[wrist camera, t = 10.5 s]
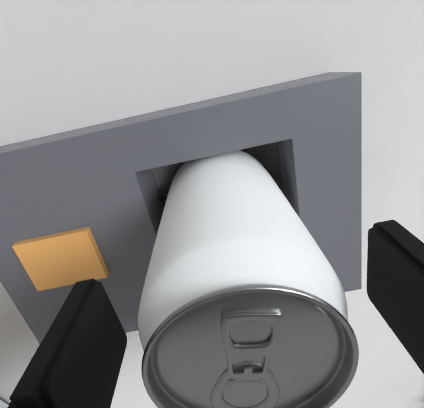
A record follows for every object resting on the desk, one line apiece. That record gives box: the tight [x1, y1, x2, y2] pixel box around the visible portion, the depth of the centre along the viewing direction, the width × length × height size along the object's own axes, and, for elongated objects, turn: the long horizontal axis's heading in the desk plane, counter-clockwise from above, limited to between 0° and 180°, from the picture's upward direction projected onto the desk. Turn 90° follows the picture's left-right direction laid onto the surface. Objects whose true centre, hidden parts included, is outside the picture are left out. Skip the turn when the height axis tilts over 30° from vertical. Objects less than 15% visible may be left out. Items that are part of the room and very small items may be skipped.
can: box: [138, 150, 359, 408], centre depth 13 cm, size 6×6×12 cm
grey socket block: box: [0, 72, 361, 344], centre depth 17 cm, size 12×20×4 cm, turn 102°
